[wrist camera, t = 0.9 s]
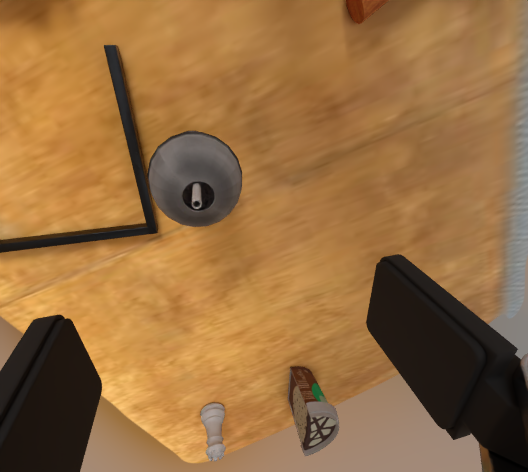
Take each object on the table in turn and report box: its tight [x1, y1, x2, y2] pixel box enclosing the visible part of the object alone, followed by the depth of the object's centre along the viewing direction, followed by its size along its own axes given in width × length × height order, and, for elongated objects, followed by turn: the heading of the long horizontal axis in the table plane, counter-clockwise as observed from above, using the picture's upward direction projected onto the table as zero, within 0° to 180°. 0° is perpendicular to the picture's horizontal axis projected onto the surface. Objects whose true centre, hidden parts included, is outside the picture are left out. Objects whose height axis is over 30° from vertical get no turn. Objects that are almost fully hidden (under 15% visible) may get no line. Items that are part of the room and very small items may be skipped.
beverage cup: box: [147, 131, 242, 227], centre depth 24 cm, size 7×7×20 cm
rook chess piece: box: [200, 403, 226, 461], centre depth 51 cm, size 4×4×8 cm
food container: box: [288, 367, 339, 456], centre depth 52 cm, size 12×6×10 cm, turn 0°
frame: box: [0, 45, 158, 253], centre depth 29 cm, size 19×18×1 cm
